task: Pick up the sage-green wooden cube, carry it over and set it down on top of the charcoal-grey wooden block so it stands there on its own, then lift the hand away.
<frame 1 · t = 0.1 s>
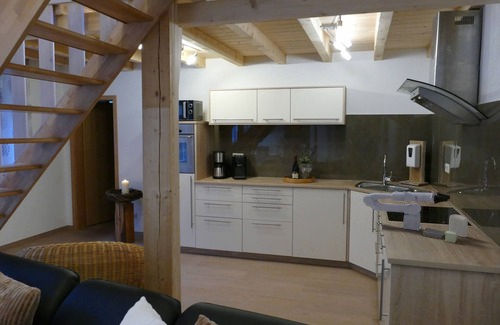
hand: (448, 198, 228), 22 cm above the worktop, tool horizontal, fingers open, 7 cm apart
grey block: (433, 235, 227), on the worktop
photo printer: (457, 235, 227), on the worktop
green cube: (450, 240, 217), on the worktop
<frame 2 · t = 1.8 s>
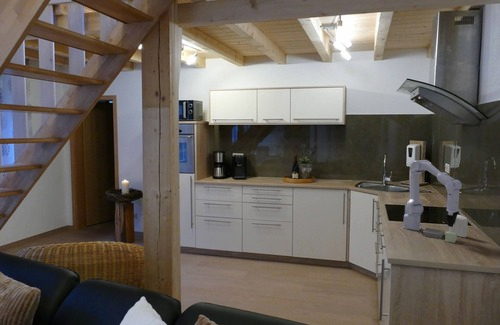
hand: (451, 225, 216), 9 cm above the worktop, tool pointing down, fingers open, 7 cm apart
nothing on the worktop moved.
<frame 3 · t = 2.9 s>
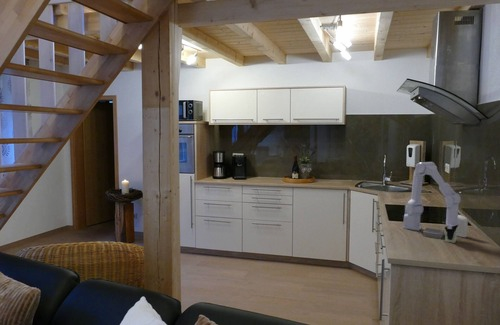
hand: (450, 238, 217), 1 cm above the worktop, tool pointing down, fingers closed on green cube, 5 cm apart
green cube: (450, 240, 217), on the worktop, touching gripper
everything else where it was.
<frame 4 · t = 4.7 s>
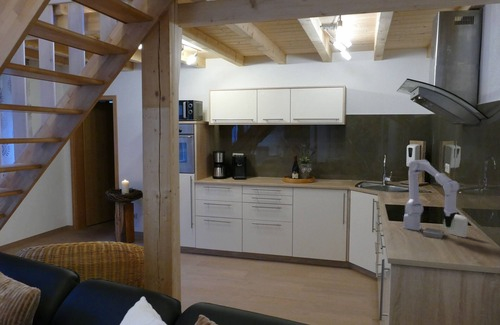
hand: (448, 225, 217), 8 cm above the worktop, tool pointing down, fingers closed on green cube, 5 cm apart
green cube: (448, 228, 218), point 7 cm above the worktop, touching gripper
everything else where it was.
when the fingers open (5 cm above the worktop, at t = 6.6 s): green cube drops 2 cm, point 2 cm above the worktop.
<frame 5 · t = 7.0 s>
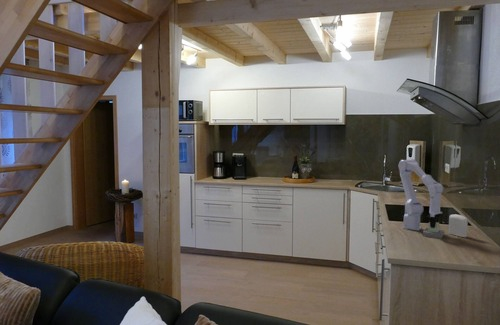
hand: (433, 226, 227), 5 cm above the worktop, tool pointing down, fingers open, 7 cm apart
green cube: (433, 231, 227), point 2 cm above the worktop
everything else where it was.
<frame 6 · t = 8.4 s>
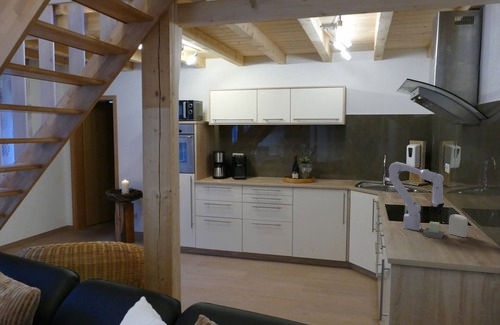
hand: (437, 216, 233), 10 cm above the worktop, tool pointing down, fingers open, 7 cm apart
grey block: (433, 236, 227), on the worktop, touching green cube
green cube: (434, 231, 227), point 2 cm above the worktop, touching grey block
everything else where it was.
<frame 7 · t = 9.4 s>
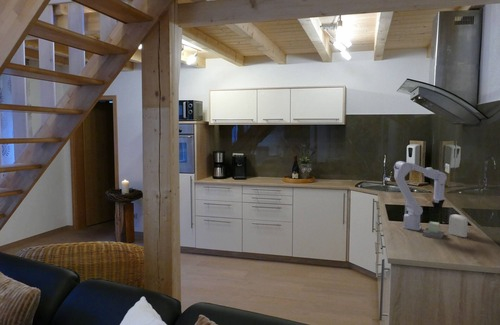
hand: (437, 211, 241), 10 cm above the worktop, tool pointing down, fingers open, 7 cm apart
grey block: (433, 236, 227), on the worktop
green cube: (433, 231, 227), point 2 cm above the worktop
everything else where it was.
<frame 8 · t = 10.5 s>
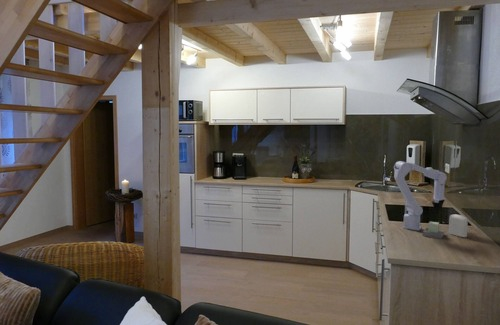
hand: (437, 211, 241), 10 cm above the worktop, tool pointing down, fingers open, 7 cm apart
nothing on the worktop moved.
at the end: green cube inside the target area on the grey block (0.3 cm from its centre), point 3.0 cm above the grey block's base; green cube tilted 0°; the gripper is holding nothing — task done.
